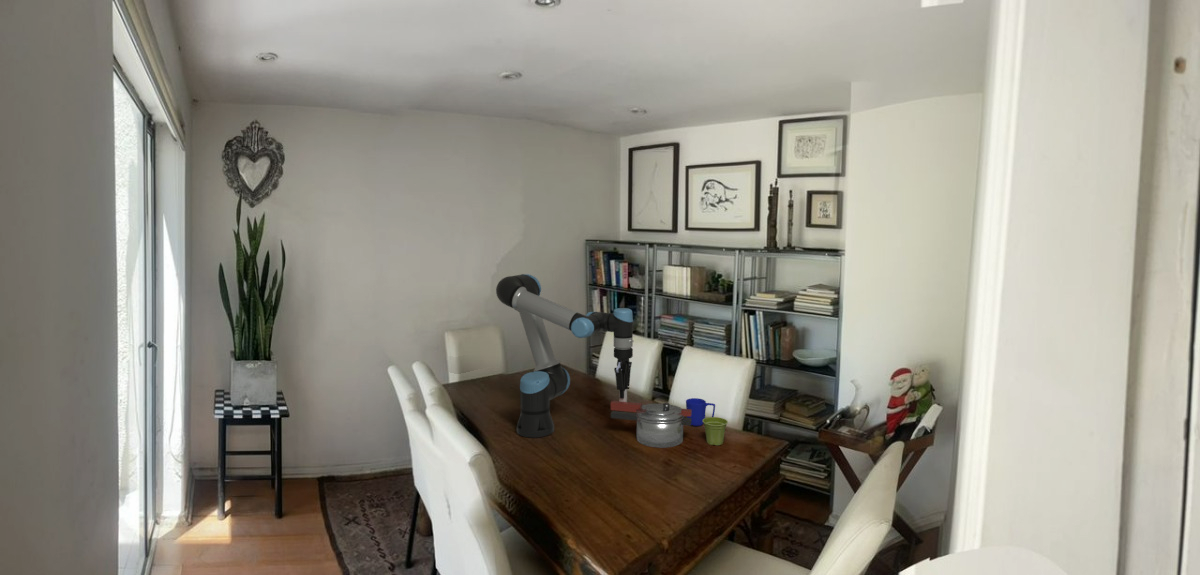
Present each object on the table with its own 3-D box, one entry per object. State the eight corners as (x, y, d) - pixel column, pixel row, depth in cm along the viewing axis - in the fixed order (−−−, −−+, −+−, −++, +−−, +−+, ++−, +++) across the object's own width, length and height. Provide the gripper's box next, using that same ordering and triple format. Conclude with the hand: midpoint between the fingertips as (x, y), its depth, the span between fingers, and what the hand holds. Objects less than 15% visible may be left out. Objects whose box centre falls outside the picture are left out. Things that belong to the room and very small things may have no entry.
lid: (605, 416, 221) (605, 406, 220) (617, 402, 238) (617, 392, 238) (687, 424, 212) (687, 413, 211) (694, 408, 229) (694, 398, 229)
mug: (714, 428, 236) (715, 405, 235) (685, 426, 238) (685, 403, 237) (714, 422, 244) (715, 399, 243) (686, 420, 246) (686, 397, 245)
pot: (605, 442, 222) (605, 416, 221) (617, 426, 240) (617, 402, 238) (687, 451, 213) (687, 424, 212) (694, 433, 230) (694, 409, 229)
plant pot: (712, 449, 214) (713, 426, 214) (697, 441, 223) (697, 419, 222) (732, 444, 219) (732, 422, 218) (716, 436, 227) (716, 415, 226)
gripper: (625, 351, 220) (625, 411, 223) (637, 345, 232) (637, 402, 235) (607, 349, 224) (608, 409, 226) (620, 343, 235) (620, 399, 238)
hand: (623, 405), depth 230 cm, fingers closed
